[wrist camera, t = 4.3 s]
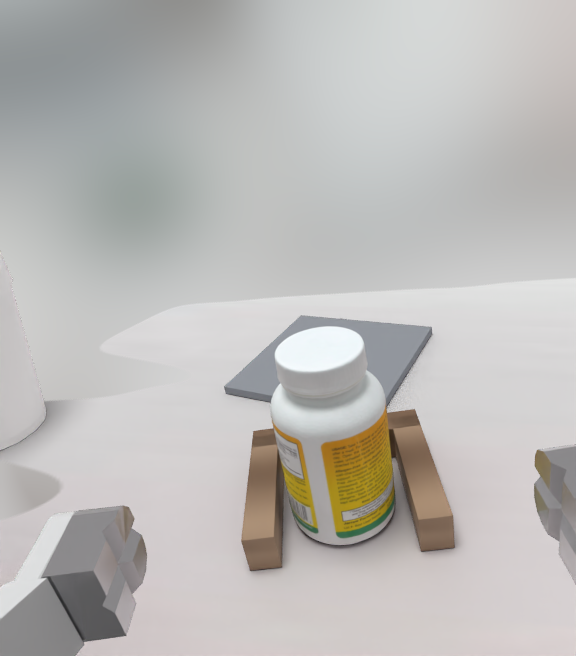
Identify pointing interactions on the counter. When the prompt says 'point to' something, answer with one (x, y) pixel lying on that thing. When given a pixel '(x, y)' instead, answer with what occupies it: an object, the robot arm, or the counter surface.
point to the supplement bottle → (332, 436)
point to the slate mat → (380, 345)
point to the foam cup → (16, 372)
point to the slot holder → (416, 475)
